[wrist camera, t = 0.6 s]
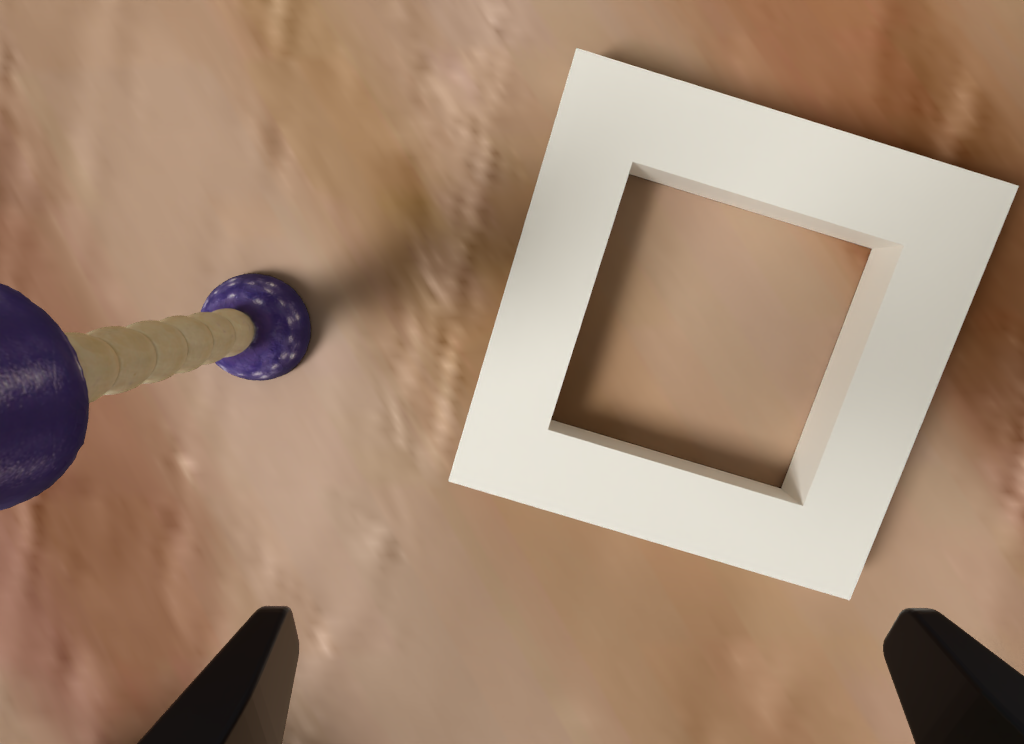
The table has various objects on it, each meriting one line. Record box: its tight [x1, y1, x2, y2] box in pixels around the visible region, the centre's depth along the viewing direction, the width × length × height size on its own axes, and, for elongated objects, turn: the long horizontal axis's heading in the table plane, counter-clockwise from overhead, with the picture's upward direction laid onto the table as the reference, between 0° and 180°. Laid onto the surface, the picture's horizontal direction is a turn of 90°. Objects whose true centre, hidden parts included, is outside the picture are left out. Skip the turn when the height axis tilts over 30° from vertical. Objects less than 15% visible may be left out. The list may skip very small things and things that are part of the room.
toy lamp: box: [0, 274, 311, 510], centre depth 16 cm, size 5×5×17 cm
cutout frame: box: [448, 48, 1019, 600], centre depth 23 cm, size 16×16×2 cm
